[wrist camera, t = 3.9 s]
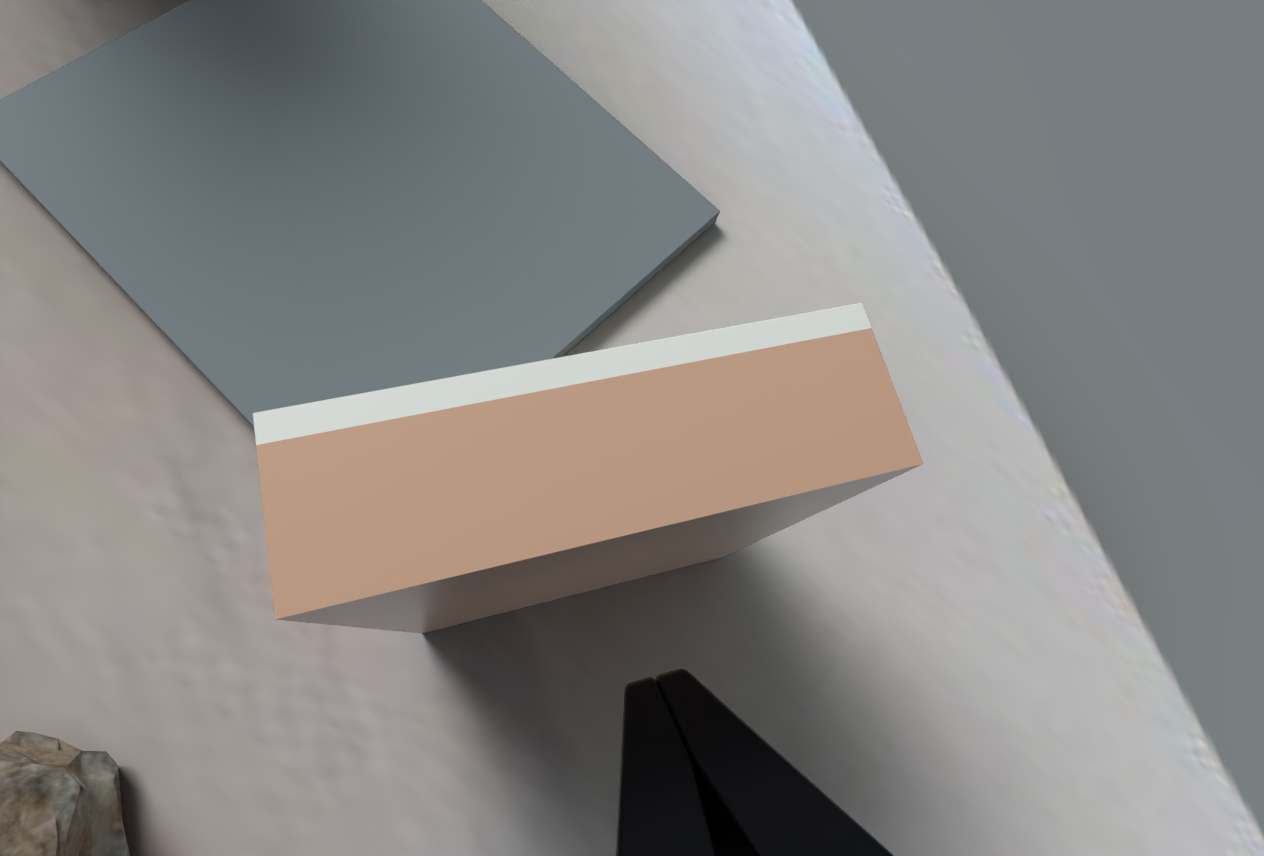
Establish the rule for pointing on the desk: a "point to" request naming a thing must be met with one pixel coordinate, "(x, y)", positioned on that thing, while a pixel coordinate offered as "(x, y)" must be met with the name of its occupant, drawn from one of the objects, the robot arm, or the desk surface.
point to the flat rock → (58, 800)
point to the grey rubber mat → (347, 191)
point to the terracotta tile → (570, 470)
